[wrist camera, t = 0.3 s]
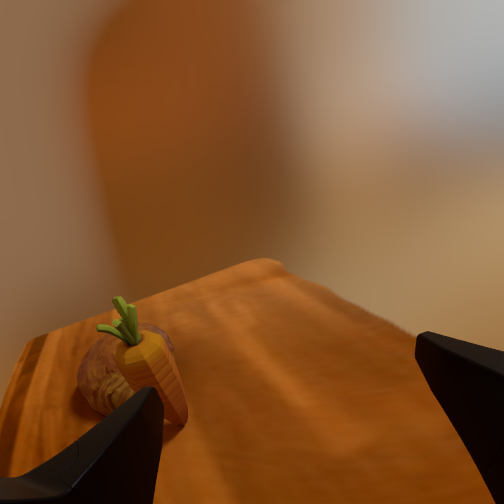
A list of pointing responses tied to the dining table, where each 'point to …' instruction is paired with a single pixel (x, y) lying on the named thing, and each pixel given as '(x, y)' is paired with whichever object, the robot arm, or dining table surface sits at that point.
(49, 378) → the dining table surface
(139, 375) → the carrot
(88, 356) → the croissant
